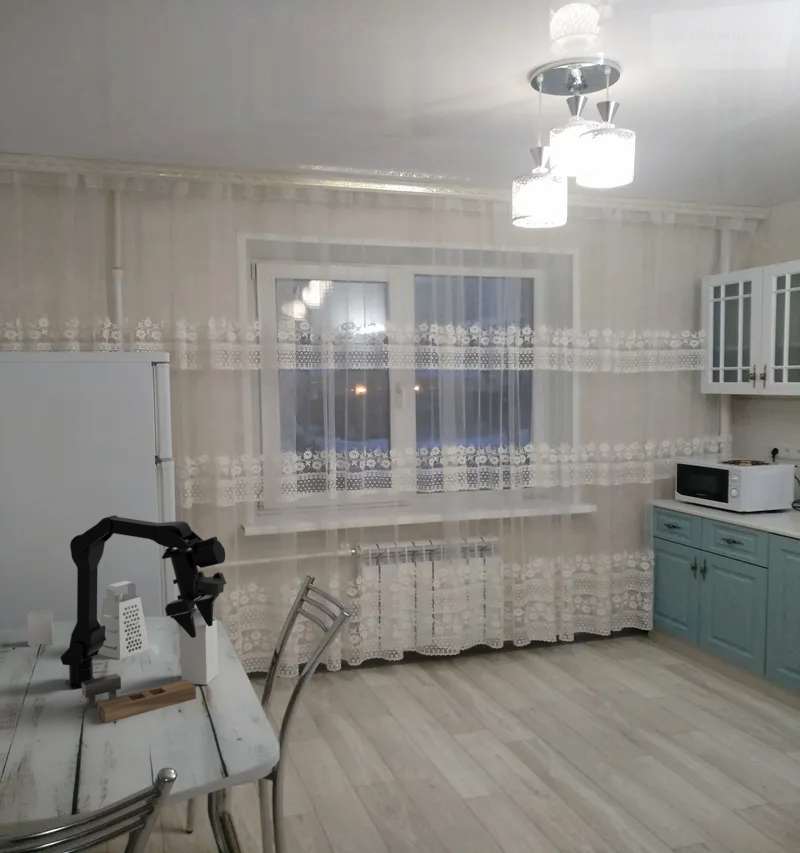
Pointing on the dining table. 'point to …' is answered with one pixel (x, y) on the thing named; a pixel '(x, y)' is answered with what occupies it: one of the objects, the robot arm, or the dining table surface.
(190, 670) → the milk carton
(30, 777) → the dining table surface
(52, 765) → the dining table surface
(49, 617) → the pale grey block
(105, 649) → the grater
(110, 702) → the rail
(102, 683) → the grey block
